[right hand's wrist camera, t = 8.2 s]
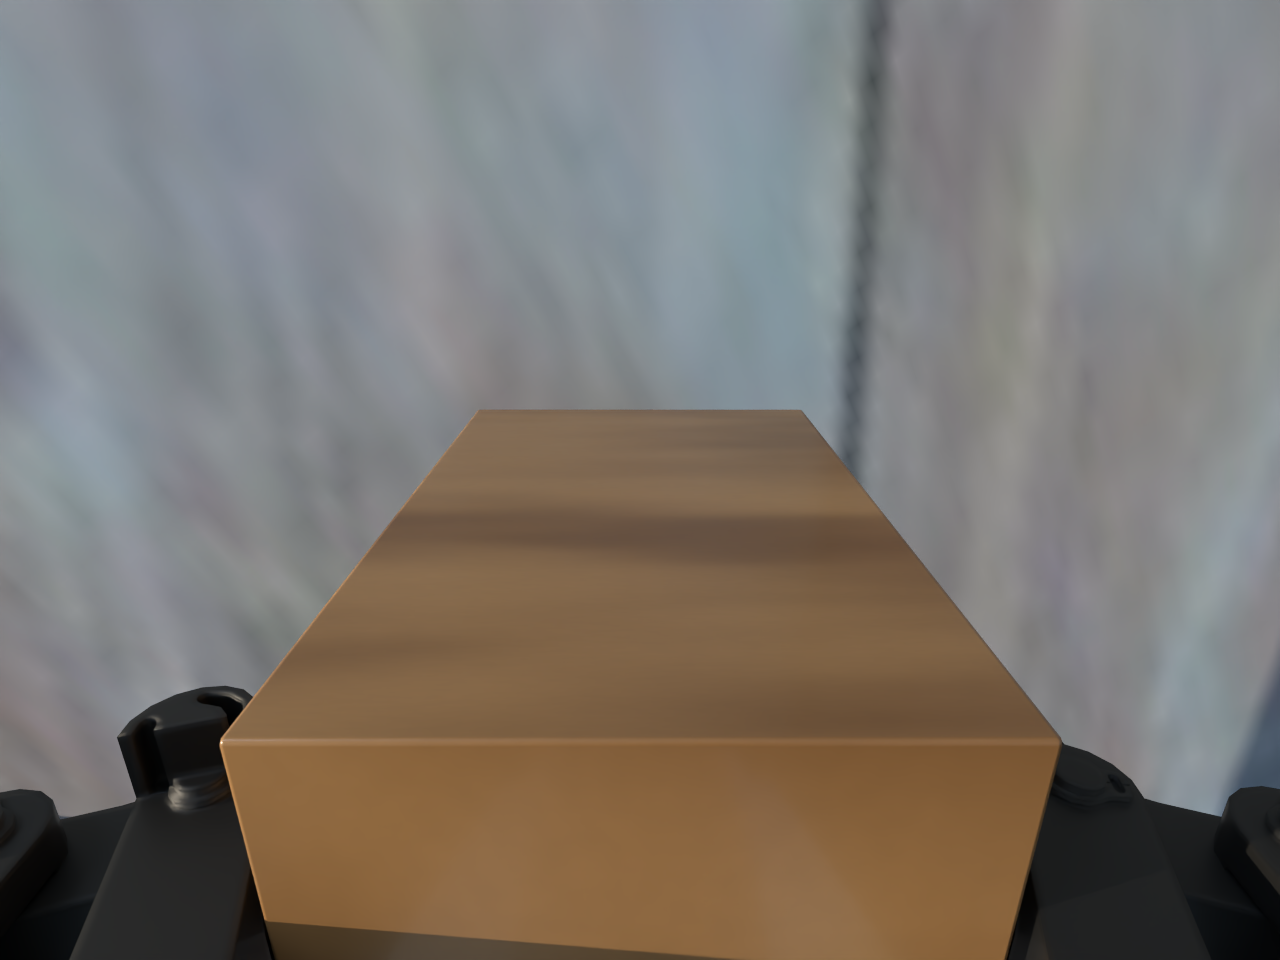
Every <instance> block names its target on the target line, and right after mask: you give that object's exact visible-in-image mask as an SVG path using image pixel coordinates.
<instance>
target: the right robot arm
mask: <svg viewBox="0 0 1280 960" xmlns="http://www.w3.org/2000/svg"><path fill="white" fill-rule="evenodd" d="M252 698H253V697H252V696H251V695H250V694H249V693H247V692H246V691H245V690H244V689H239V688H234V687H229V686H217V687H203V688H199V689H195V690H191V691H187V692H184V693H180V694H176V695H174V696H172V697H170V698H168V699H165V700H163V701H161V702H159V703H157V704H154V705H152V706H150V707H149V708H148V709H146V710H145V711H143V712H142V713H141V714H139V715H138V716H136V717H135V718H134V719H132V720H131V721H130V722H129V723H128V724H127V725H126V727H125V728H124V729H123V730H122V732H121V733H120V734H119V735H118V737H117V739H118V742H119V745H120V748H121V751H122V754H123V758H124V761H125V764H126V767H127V770H128V773H129V776H130V779H131V782H132V786H133V789H134V792H135V795H136V798H137V799H136V801H135V802H133V803H129V804H126V805H123V806H119V807H114V808H110V809H105V810H101V811H97V812H92V813H88V814H83V815H79V816H75V817H70V818H66V819H61V820H60V818H59V815H58V813H57V810H56V807H55V805H54V802H53V800H52V799H51V798H49V797H48V796H47V795H45V794H44V793H43V792H41V791H34V790H23V789H18V790H13V791H7V792H1V793H0V960H275V958H274V954H273V951H272V947H271V943H270V939H269V935H268V931H267V927H266V924H265V920H264V916H263V912H262V908H261V904H260V900H259V896H258V893H257V889H256V885H255V881H254V877H253V873H252V869H251V865H250V862H249V858H248V854H247V850H246V846H245V842H244V838H243V834H242V831H241V827H240V823H239V819H238V815H237V811H236V807H235V804H234V800H233V796H232V792H231V788H230V784H229V780H228V776H227V773H226V769H225V765H224V761H223V757H222V753H221V749H220V740H221V738H222V736H223V735H224V734H225V733H226V731H227V730H228V729H229V728H230V726H231V725H232V724H233V722H234V721H235V720H236V719H237V717H238V716H239V715H240V714H241V712H242V711H243V710H244V708H245V707H246V706H247V705H248V703H249V702H250V701H251V699H252ZM1007 960H1280V789H1275V788H1269V787H1264V786H1259V787H1248V788H1240V789H1239V790H1238V791H1236V792H1235V793H1234V794H1232V795H1231V796H1230V797H1229V798H1228V801H1227V804H1226V806H1225V809H1224V812H1223V814H1222V817H1219V816H1215V815H1211V814H1206V813H1202V812H1197V811H1193V810H1188V809H1184V808H1180V807H1175V806H1171V805H1166V804H1162V803H1158V802H1155V801H1151V800H1148V799H1144V797H1143V796H1142V794H1141V793H1140V792H1139V790H1138V789H1137V787H1136V786H1135V784H1134V783H1133V781H1132V780H1131V779H1130V778H1128V777H1127V776H1126V775H1125V774H1124V773H1122V772H1121V771H1120V770H1119V769H1117V768H1116V767H1115V766H1114V765H1113V764H1111V763H1109V762H1107V761H1105V760H1103V759H1101V758H1099V757H1097V756H1096V755H1094V754H1092V753H1090V752H1088V751H1084V750H1081V749H1078V748H1075V747H1071V746H1068V745H1065V744H1064V743H1063V742H1062V749H1061V753H1060V756H1059V760H1058V764H1057V768H1056V772H1055V776H1054V779H1053V783H1052V787H1051V791H1050V795H1049V799H1048V802H1047V806H1046V810H1045V814H1044V818H1043V822H1042V825H1041V829H1040V833H1039V837H1038V841H1037V845H1036V848H1035V852H1034V856H1033V860H1032V864H1031V868H1030V872H1029V875H1028V879H1027V883H1026V887H1025V891H1024V895H1023V898H1022V902H1021V906H1020V910H1019V914H1018V918H1017V921H1016V925H1015V929H1014V933H1013V937H1012V941H1011V944H1010V948H1009V952H1008V956H1007Z"/></svg>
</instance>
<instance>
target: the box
mask: <svg viewBox="0 0 1280 960" xmlns="http://www.w3.org/2000/svg"><path fill="white" fill-rule="evenodd" d="M220 749H221V753H222V757H223V761H224V765H225V769H226V773H227V776H228V780H229V784H230V788H231V792H232V796H233V800H234V804H235V807H236V811H237V815H238V819H239V823H240V827H241V831H242V834H243V838H244V842H245V846H246V850H247V854H248V858H249V862H250V865H251V869H252V873H253V877H254V881H255V885H256V889H257V893H258V896H259V900H260V904H261V908H262V912H263V916H264V920H265V924H266V927H267V931H268V935H269V939H270V943H271V947H272V951H273V954H274V958H275V960H1007V956H1008V952H1009V948H1010V944H1011V941H1012V937H1013V933H1014V929H1015V925H1016V921H1017V918H1018V914H1019V910H1020V906H1021V902H1022V898H1023V895H1024V891H1025V887H1026V883H1027V879H1028V875H1029V872H1030V868H1031V864H1032V860H1033V856H1034V852H1035V848H1036V845H1037V841H1038V837H1039V833H1040V829H1041V825H1042V822H1043V818H1044V814H1045V810H1046V806H1047V802H1048V799H1049V795H1050V791H1051V787H1052V783H1053V779H1054V776H1055V772H1056V768H1057V764H1058V760H1059V756H1060V753H1061V749H1062V740H1061V737H1060V736H1059V735H1058V734H1057V732H1056V731H1055V730H1054V729H1053V727H1052V726H1051V725H1050V724H1049V722H1048V721H1047V720H1046V718H1045V717H1044V716H1043V715H1042V713H1041V712H1040V711H1039V710H1038V708H1037V707H1036V706H1035V705H1034V703H1033V702H1032V701H1031V700H1030V698H1029V697H1028V696H1027V694H1026V693H1025V692H1024V691H1023V689H1022V688H1021V687H1020V686H1019V684H1018V683H1017V682H1016V681H1015V679H1014V678H1013V677H1012V676H1011V674H1010V673H1009V672H1008V670H1007V669H1006V668H1005V667H1004V665H1003V664H1002V663H1001V662H1000V660H999V659H998V658H997V657H996V655H995V654H994V653H993V652H992V650H991V649H990V648H989V646H988V645H987V644H986V643H985V641H984V640H983V639H982V638H981V636H980V635H979V634H978V633H977V631H976V630H975V629H974V628H973V626H972V625H971V624H970V622H969V621H968V620H967V619H966V617H965V616H964V615H963V614H962V612H961V611H960V610H959V609H958V607H957V606H956V605H955V604H954V602H953V601H952V600H951V598H950V597H949V596H948V595H947V593H946V592H945V591H944V590H943V588H942V587H941V586H940V585H939V583H938V582H937V581H936V580H935V578H934V577H933V576H932V574H931V573H930V572H929V571H928V569H927V568H926V567H925V566H924V564H923V563H922V562H921V561H920V559H919V558H918V557H917V556H916V554H915V553H914V552H913V550H912V549H911V548H910V547H909V545H908V544H907V543H906V542H905V540H904V539H903V538H902V537H901V535H900V534H899V533H898V532H897V530H896V529H895V528H894V526H893V525H892V524H891V523H890V521H889V520H888V519H887V518H886V516H885V515H884V514H883V513H882V511H881V510H880V509H879V508H878V506H877V505H876V504H875V503H874V501H873V500H872V499H871V497H870V496H869V495H868V494H867V492H866V491H865V490H864V489H863V487H862V486H861V485H860V484H859V482H858V481H857V480H856V479H855V477H854V476H853V475H852V473H851V472H850V471H849V470H848V468H847V467H846V466H845V465H844V463H843V462H842V461H841V460H840V458H839V457H838V456H837V455H836V453H835V452H834V451H833V449H832V448H831V447H830V446H829V444H828V443H827V442H826V441H825V439H824V438H823V437H822V436H821V434H820V433H819V432H818V431H817V429H816V428H815V427H814V425H813V424H812V423H811V422H810V420H809V419H808V418H807V417H806V415H805V414H804V413H803V412H802V411H801V410H478V411H477V412H476V414H475V415H474V416H473V418H472V419H471V420H470V421H469V423H468V424H467V425H466V426H465V428H464V429H463V430H462V432H461V433H460V434H459V435H458V437H457V438H456V439H455V441H454V442H453V443H452V444H451V446H450V447H449V448H448V449H447V451H446V452H445V453H444V455H443V456H442V457H441V458H440V460H439V461H438V462H437V463H436V465H435V466H434V467H433V469H432V470H431V471H430V472H429V474H428V475H427V476H426V478H425V479H424V480H423V481H422V483H421V484H420V485H419V486H418V488H417V489H416V490H415V492H414V493H413V494H412V495H411V497H410V498H409V499H408V500H407V502H406V503H405V504H404V506H403V507H402V508H401V509H400V511H399V512H398V513H397V515H396V516H395V517H394V518H393V520H392V521H391V522H390V523H389V525H388V526H387V527H386V529H385V530H384V531H383V532H382V534H381V535H380V536H379V537H378V539H377V540H376V541H375V543H374V544H373V545H372V546H371V548H370V549H369V550H368V552H367V553H366V554H365V555H364V557H363V558H362V559H361V560H360V562H359V563H358V564H357V566H356V567H355V568H354V569H353V571H352V572H351V573H350V574H349V576H348V577H347V578H346V580H345V581H344V582H343V583H342V585H341V586H340V587H339V589H338V590H337V591H336V592H335V594H334V595H333V596H332V597H331V599H330V600H329V601H328V603H327V604H326V605H325V606H324V608H323V609H322V610H321V611H320V613H319V614H318V615H317V617H316V618H315V619H314V620H313V622H312V623H311V624H310V626H309V627H308V628H307V629H306V631H305V632H304V633H303V634H302V636H301V637H300V638H299V640H298V641H297V642H296V643H295V645H294V646H293V647H292V648H291V650H290V651H289V652H288V654H287V655H286V656H285V657H284V659H283V660H282V661H281V662H280V664H279V665H278V666H277V668H276V669H275V670H274V671H273V673H272V674H271V675H270V677H269V678H268V679H267V680H266V682H265V683H264V684H263V685H262V687H261V688H260V689H259V691H258V692H257V693H256V694H255V696H254V697H253V698H252V699H251V701H250V702H249V703H248V705H247V706H246V707H245V708H244V710H243V711H242V712H241V714H240V715H239V716H238V717H237V719H236V720H235V721H234V722H233V724H232V725H231V726H230V728H229V729H228V730H227V731H226V733H225V734H224V735H223V736H222V738H221V740H220Z"/></svg>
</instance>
